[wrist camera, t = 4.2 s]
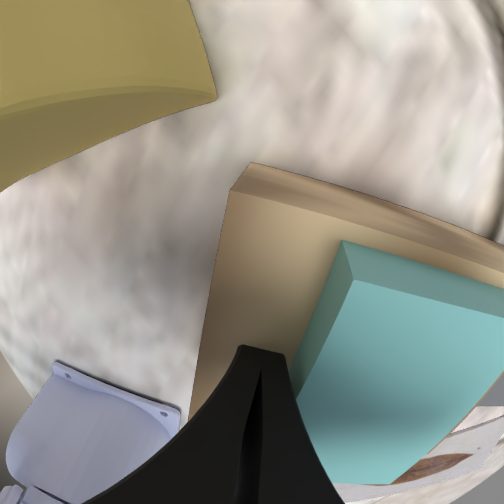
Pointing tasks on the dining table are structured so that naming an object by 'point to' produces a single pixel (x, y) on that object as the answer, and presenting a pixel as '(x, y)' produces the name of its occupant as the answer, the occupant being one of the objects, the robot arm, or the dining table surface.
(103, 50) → the cheese
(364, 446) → the turquoise rectangular block
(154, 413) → the robot arm
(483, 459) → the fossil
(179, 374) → the dining table surface
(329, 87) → the dining table surface
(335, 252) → the block
